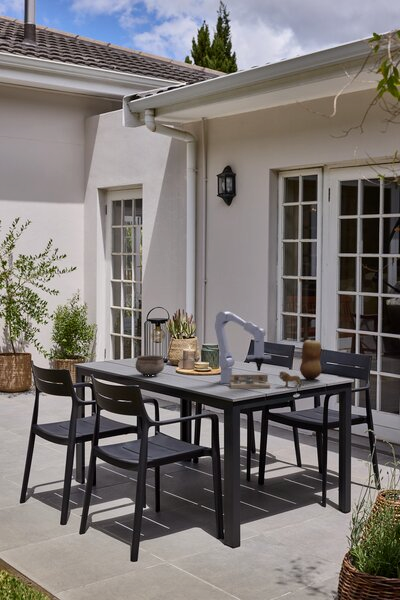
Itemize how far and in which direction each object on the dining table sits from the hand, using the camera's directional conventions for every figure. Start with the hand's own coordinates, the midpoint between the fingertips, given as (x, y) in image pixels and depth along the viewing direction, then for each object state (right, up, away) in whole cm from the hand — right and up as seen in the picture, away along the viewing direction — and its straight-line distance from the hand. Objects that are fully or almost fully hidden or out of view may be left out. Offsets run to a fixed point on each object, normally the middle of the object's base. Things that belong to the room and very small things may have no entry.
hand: (258, 370), depth 479 cm
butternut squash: (+35, -8, +24) cm, 43 cm away
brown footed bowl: (-68, -7, +39) cm, 79 cm away
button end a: (-13, -9, -3) cm, 16 cm away
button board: (-6, -9, -3) cm, 11 cm away
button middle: (-6, -7, -3) cm, 10 cm away
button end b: (+2, -8, -2) cm, 9 cm away
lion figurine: (+19, -9, -3) cm, 21 cm away
